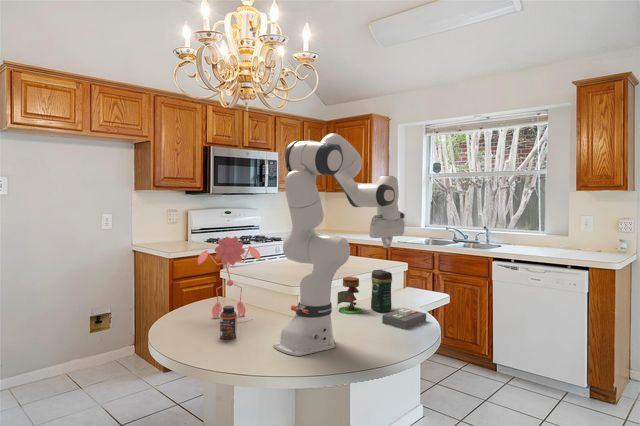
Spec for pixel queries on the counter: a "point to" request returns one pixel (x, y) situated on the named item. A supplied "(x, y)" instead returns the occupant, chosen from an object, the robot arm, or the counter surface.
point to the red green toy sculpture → (349, 296)
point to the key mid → (405, 312)
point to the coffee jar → (381, 291)
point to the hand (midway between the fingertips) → (386, 247)
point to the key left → (398, 316)
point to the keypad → (404, 319)
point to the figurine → (229, 254)
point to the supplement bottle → (228, 323)
